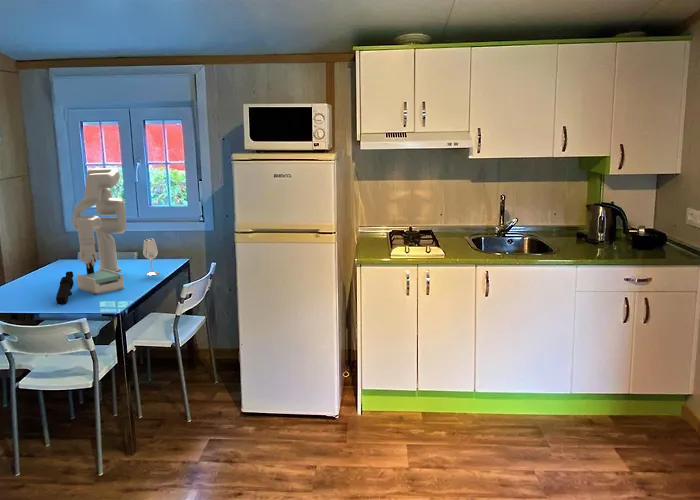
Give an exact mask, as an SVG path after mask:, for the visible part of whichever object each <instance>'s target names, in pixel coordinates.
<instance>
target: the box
mask: <svg viewBox="0 0 700 500" xmlns="http://www.w3.org/2000/svg"><path fill="white" fill-rule="evenodd" d="M104 271H106V272H110V273H113V274H116V275H119V279H117V280H112V281H108V282H103V283H98V284H96V281H95V279H92V278H89V277H86V276H83V275H84V274H80V273H76V278H77V285H78V289H79V290H81V291H85V292H87V293H91V294H93V295H95V296H96V295H101V293H102V294H105V293H111V292H115V291H119V289H120V290H123V289H125V286H124V285H125V284H124V277H123V276H124V275H123V273H120V272H118V271H117V272H114V271H111V270H107V269H104Z"/></svg>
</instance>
